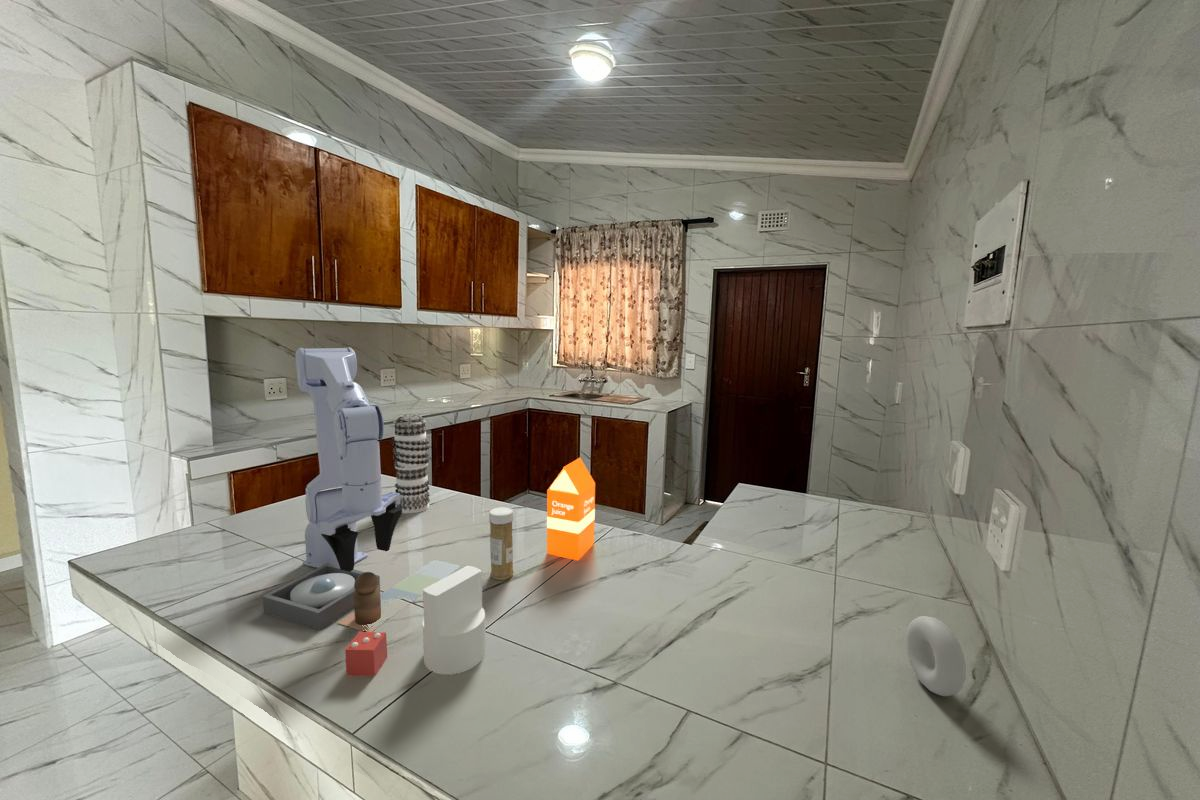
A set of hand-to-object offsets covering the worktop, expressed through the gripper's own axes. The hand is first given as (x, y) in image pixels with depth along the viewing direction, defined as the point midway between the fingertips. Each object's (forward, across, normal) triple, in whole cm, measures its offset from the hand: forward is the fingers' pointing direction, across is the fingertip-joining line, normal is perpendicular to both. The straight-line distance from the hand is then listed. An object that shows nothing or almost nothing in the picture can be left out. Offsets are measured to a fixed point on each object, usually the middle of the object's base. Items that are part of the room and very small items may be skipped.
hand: (365, 559), depth 82 cm
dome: (+10, +1, +11) cm, 15 cm away
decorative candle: (+11, +42, +28) cm, 52 cm away
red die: (+10, -9, -9) cm, 17 cm away
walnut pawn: (+10, 0, 0) cm, 10 cm away
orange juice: (+11, +37, -21) cm, 44 cm away
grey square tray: (+10, +1, +11) cm, 15 cm away
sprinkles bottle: (+11, +21, -13) cm, 27 cm away
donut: (+10, +17, -85) cm, 87 cm away
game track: (+10, +9, 0) cm, 13 cm away
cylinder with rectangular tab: (+11, -2, -19) cm, 22 cm away
